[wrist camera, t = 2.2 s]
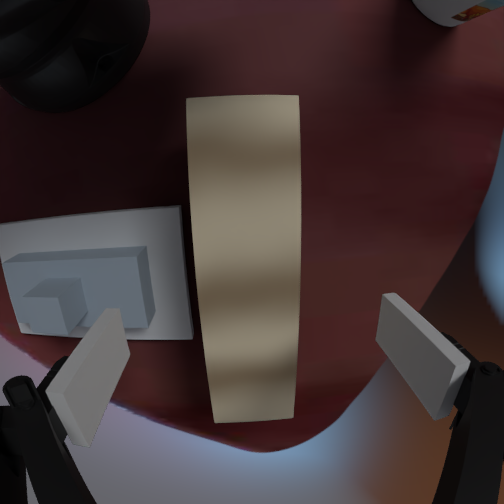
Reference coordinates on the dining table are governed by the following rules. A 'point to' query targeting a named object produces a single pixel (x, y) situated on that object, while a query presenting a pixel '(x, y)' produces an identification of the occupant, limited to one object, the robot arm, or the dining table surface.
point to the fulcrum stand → (99, 272)
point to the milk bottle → (455, 10)
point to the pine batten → (247, 249)
